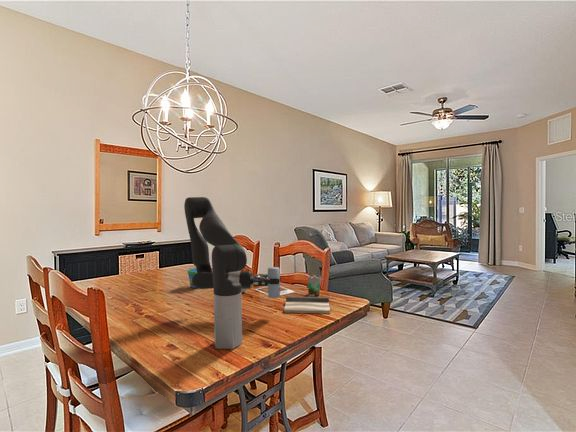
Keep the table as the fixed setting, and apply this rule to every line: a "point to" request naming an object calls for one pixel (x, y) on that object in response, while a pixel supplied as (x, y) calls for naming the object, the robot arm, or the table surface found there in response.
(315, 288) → the food container
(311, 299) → the board
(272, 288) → the roller
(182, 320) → the table surface
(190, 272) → the snack cup
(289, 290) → the photo frame
